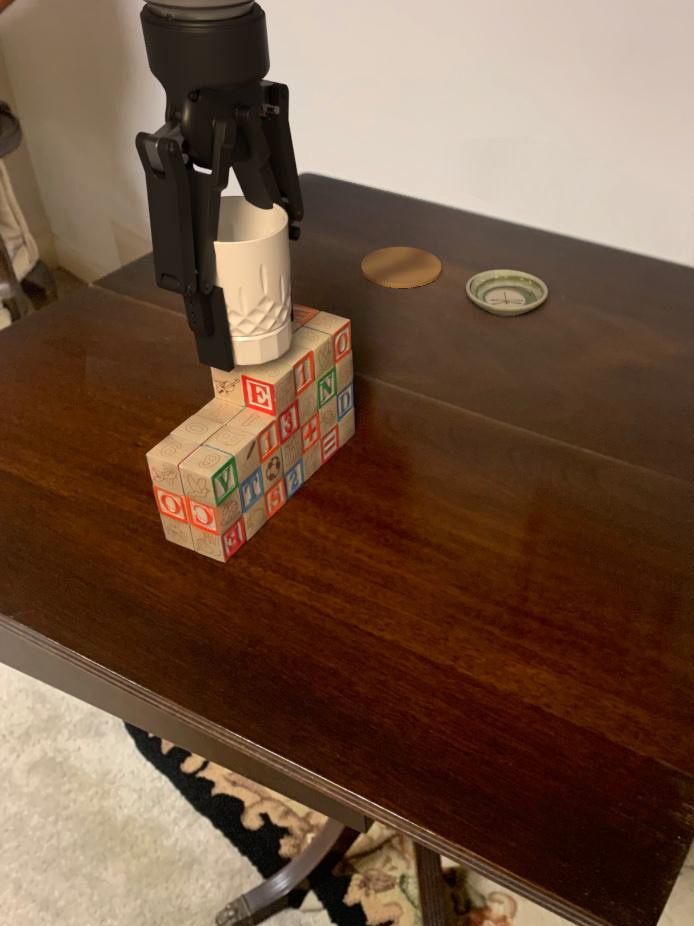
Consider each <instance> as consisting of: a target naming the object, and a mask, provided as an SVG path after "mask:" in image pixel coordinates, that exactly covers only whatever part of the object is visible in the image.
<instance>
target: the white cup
mask: <svg viewBox="0 0 694 926" xmlns="http://www.w3.org/2000/svg"><path fill="white" fill-rule="evenodd" d="M214 247H215V252H216V260H215V271H214V283H213V285H215V286H219V287H222V289H223V295H224V302H225V308H226V315H227V321H228V328H229V334H230V341H231V347H232V353H233V360H234V364H236V365H254V364H262V363H265V362H268V361H271V360H274V359H277V358H279V357H280V356H281V355H282V354H284V353H285V352H286V351H287V350H288V349H289V347H290V343H291V339H292V333H291V316H290V314H291V293H292V282H291V281H292V274H291V273H292V272H291V268H290V266H291V253H290V240H289V230H288V215H287V213H286V211H285V210H284V209H283V208H282V207H280V206H279V205H277V204H275V203H274V204H273V209H270V210H264V209H260V208H258V207H255V206H254V205H252V204H250V203H249V202H248V201H246V199H245V197H244V195H223V196H222V195H221V201H220V213H219V224H218V236H217V241H215V242H214ZM195 273H198V272H197V270H195Z"/></svg>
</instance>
